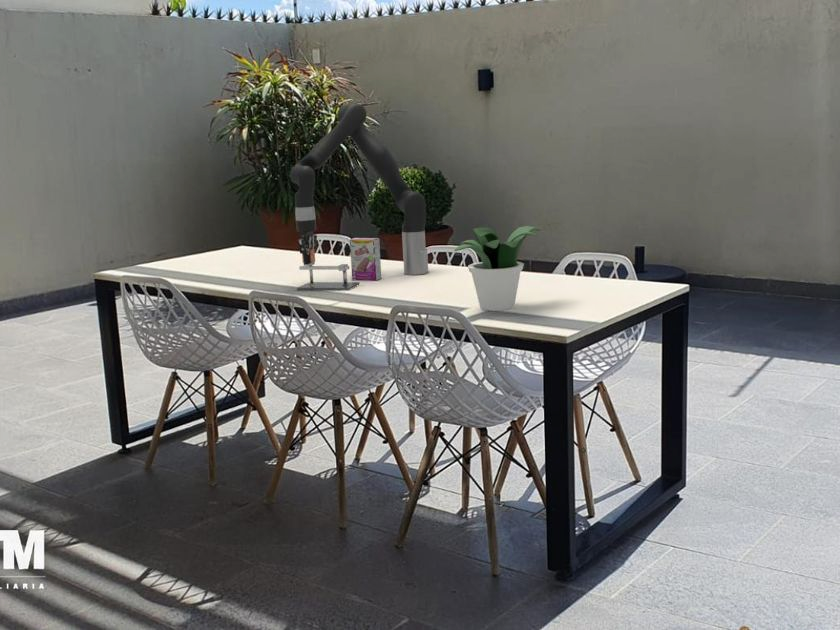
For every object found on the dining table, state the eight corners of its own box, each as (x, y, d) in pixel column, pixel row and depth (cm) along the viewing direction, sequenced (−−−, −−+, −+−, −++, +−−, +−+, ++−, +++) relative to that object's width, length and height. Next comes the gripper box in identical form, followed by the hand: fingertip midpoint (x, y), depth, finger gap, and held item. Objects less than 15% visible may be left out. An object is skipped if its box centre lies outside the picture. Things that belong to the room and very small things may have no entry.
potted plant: (573, 303, 322) (572, 226, 317) (491, 321, 303) (488, 239, 298) (510, 292, 348) (508, 220, 343) (431, 307, 328) (427, 231, 323)
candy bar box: (351, 280, 392) (348, 239, 388) (357, 278, 396) (354, 237, 393) (376, 280, 387) (373, 239, 384) (382, 278, 391) (379, 237, 388)
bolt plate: (359, 284, 380) (358, 261, 378) (348, 290, 369) (346, 266, 367) (309, 284, 386) (308, 262, 384) (297, 290, 375) (295, 267, 373)
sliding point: (317, 283, 379) (314, 248, 376) (313, 284, 376) (311, 250, 373) (307, 283, 380) (305, 248, 378) (303, 284, 377) (301, 250, 374)
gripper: (307, 220, 365) (310, 266, 369) (322, 216, 378) (325, 260, 382) (288, 221, 367) (292, 266, 371) (304, 216, 381) (307, 260, 384)
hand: (309, 263), depth 376 cm, fingers closed on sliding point, 3 cm apart
